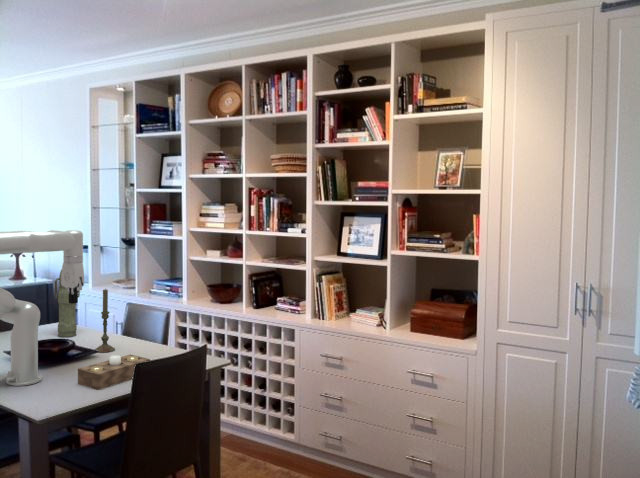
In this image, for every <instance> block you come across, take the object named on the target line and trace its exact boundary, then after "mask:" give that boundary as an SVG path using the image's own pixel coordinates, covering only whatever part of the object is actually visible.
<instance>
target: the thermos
mask: <svg viewBox="0 0 640 478" xmlns="http://www.w3.org/2000/svg"><path fill="white" fill-rule="evenodd" d="M61 272H62V269H60V272H59V277H58V278H56V279H55V280H54V297H55V299H57V303H58V323H57V333H58V335H57V337H58V338H65V339H66V338H67V339H68V338H73V337H76V336H77V328H78V325H77V322H76V306H77V305H76V304H77V303H74V304H71V303H69V294H68V290H67V289H66V288H65V287H64V286H62V285H61ZM58 282H59V283H58ZM58 284H59V287H58ZM58 288H59V289H58ZM80 292H81V290H80V291H79V293H78V298H80V294H81V293H80Z"/></svg>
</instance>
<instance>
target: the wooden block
mask: <svg viewBox="0 0 640 478" xmlns="http://www.w3.org/2000/svg"><path fill="white" fill-rule="evenodd" d="M129 356H136V355H134V354H130V353H129V354H126V355H123V356H121V365H118V366H111V365H109V359H107V360H105V361H104V360H103V361H102V362H98V363H94V364H90V365H87V366H83V367H80V368H77V384H78V385H80V386H84V387H87V388H90V387H91V388H90V389H94V390H98V391H99V390H102V389H105V388H108V387H112V386H114V384H115V385H117V383H118V384H120V382H121V383H123V381H124V382H126V381H130V380H132V377H133V372H134V367H135V365H136V364H137V363H140V362H145V361H150V362H151V359H150V358H148V357H142V356H140V355H139V356H138V355H137V356H138V360H135V361H129V360H127V357H129ZM93 366H102V367H103V370H100V371H97V372H94V371H91V367H93ZM111 385H112V386H111Z"/></svg>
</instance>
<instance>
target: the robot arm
mask: <svg viewBox="0 0 640 478" xmlns="http://www.w3.org/2000/svg"><path fill="white" fill-rule="evenodd" d="M47 252H63V263H62V267H61V270H62V272H61V271H60V272H61V285H62V286H64V287H65V288H66V289H67V290H68V294H69V303H71V304H74V303H76V304H78V302H79V301H78V299H79V297H78V293H79V291H80V292H81V291H82V290H83V287H84V286H85V270H84V234H83V232H82V231H81V230H66V231H61V230H49V231H46V232H38V231H37V232H36V231H30V230H29V231H28V230H17V231H16V230H14V231H0V255H10V254H25V253H27V254H28V253H29V254H30V253H31V254H33V253H47ZM0 320H1V321H3V322H5V323H8V324H12V325H13V327H12V329H11V332H10V333H11V334H10V370H9V371H7V374H5V375H1V376H0V382H1V383H2V382H4V381H5V383H6V384H7V385H8V386H13V387H14V386H15V387H16V386H17V387H22V386H29V385H34V384H37V383H39V382H41V381H43V376H42V374H39V369H38V368H39V363H38V362H39V351H38V350H39V325H40V320H41V310H40V309H39V307H38V306H37V304H35V303H32V302H30V301H25V300H20V299H16V298H15V296H14V295H13V294H12V293H11V292H10V291H8V290H7V289H4V288H3V287H0Z"/></svg>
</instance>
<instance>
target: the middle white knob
mask: <svg viewBox="0 0 640 478" xmlns="http://www.w3.org/2000/svg"><path fill="white" fill-rule="evenodd" d="M121 357H122V356H121V355H119V354H114V355H110V356H109V358H108V360H109V365H111V366H118V365H121Z"/></svg>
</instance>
